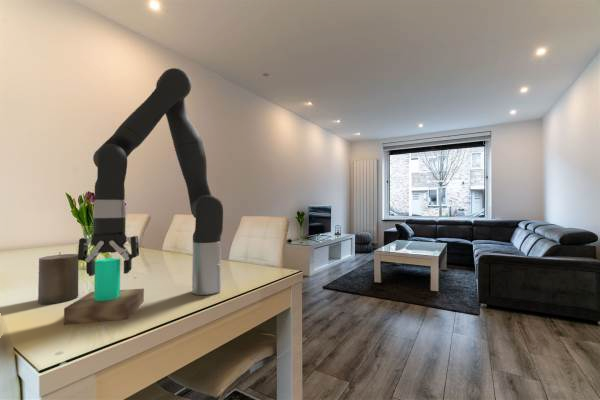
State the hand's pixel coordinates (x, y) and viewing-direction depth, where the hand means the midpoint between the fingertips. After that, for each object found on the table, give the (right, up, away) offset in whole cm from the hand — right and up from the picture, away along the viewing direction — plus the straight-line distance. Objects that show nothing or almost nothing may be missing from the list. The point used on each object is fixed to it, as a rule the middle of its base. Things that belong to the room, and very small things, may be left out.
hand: (109, 274), depth 77 cm
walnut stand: (0, -10, 0) cm, 10 cm away
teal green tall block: (0, -7, 0) cm, 7 cm away
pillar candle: (-23, -11, +10) cm, 28 cm away
